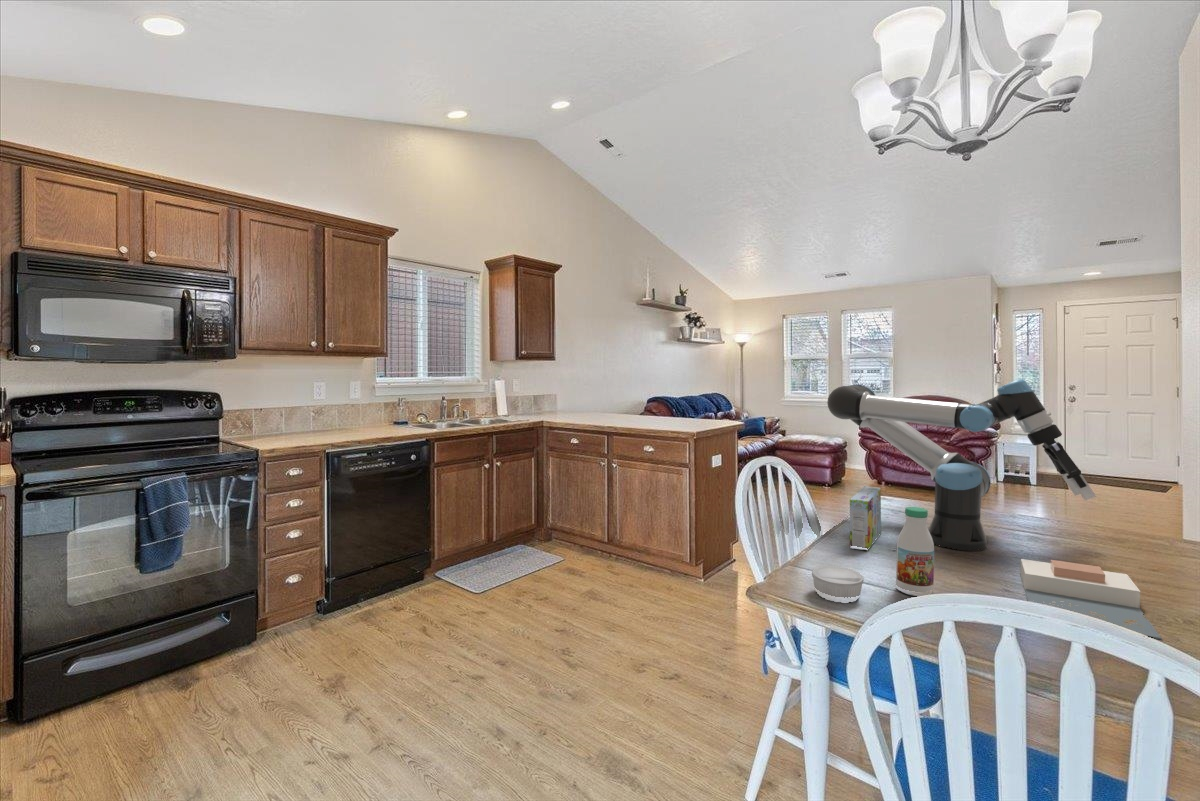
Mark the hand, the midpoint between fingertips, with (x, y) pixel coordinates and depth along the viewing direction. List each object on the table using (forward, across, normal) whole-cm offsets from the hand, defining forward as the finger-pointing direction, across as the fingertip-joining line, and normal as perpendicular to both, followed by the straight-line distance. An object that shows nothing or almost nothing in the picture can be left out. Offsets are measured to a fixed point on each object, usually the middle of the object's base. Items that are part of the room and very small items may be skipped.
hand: (1085, 496), depth 157 cm
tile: (+11, -35, +14) cm, 39 cm away
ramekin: (-6, -65, +59) cm, 88 cm away
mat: (+15, -47, +17) cm, 52 cm away
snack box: (-10, -18, +56) cm, 60 cm away
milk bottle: (0, -54, +45) cm, 70 cm away
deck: (+14, -34, +16) cm, 40 cm away
